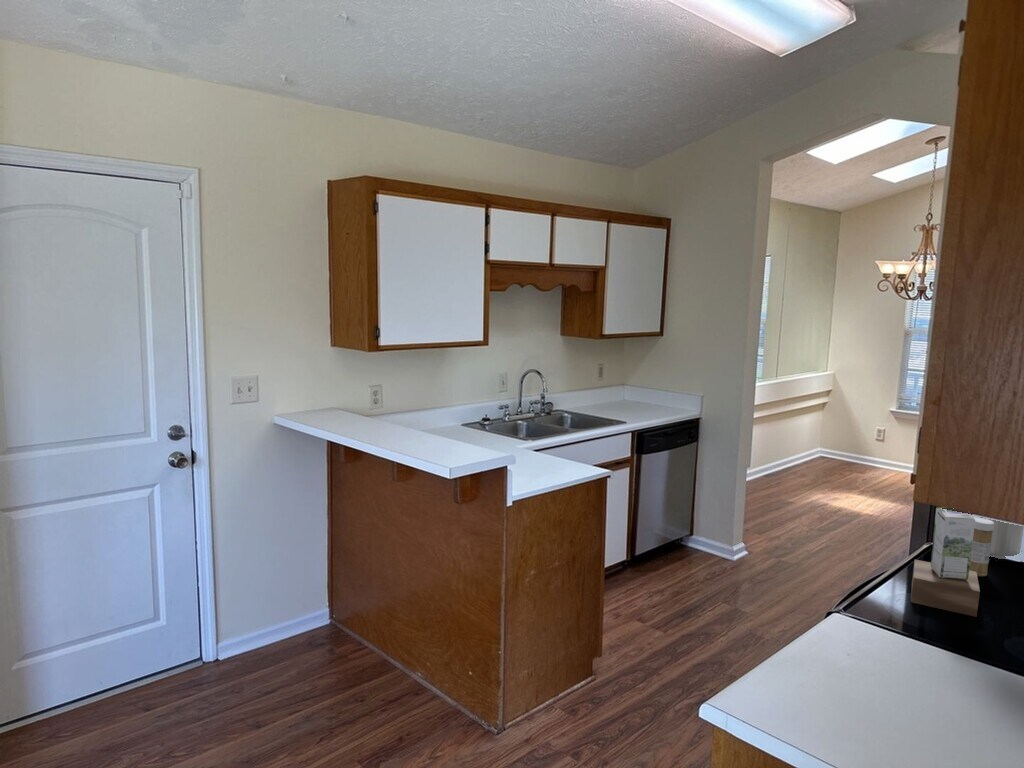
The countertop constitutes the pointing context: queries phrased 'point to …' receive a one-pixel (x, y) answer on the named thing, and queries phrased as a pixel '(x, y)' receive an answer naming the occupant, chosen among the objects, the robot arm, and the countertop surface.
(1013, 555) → the robot arm
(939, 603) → the walnut block
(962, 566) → the syrup box
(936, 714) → the countertop surface
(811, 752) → the countertop surface
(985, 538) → the sprinkles bottle
